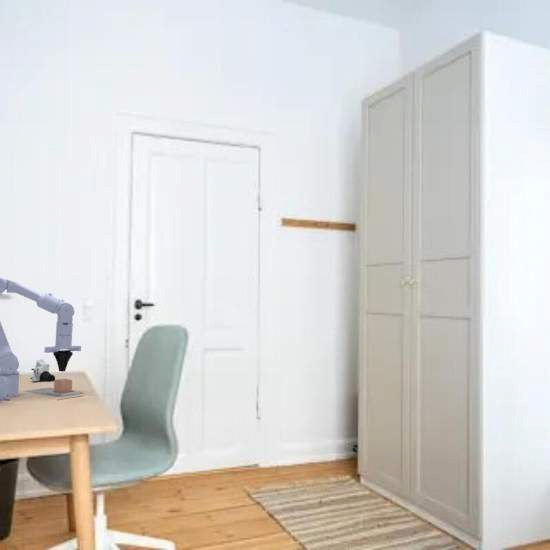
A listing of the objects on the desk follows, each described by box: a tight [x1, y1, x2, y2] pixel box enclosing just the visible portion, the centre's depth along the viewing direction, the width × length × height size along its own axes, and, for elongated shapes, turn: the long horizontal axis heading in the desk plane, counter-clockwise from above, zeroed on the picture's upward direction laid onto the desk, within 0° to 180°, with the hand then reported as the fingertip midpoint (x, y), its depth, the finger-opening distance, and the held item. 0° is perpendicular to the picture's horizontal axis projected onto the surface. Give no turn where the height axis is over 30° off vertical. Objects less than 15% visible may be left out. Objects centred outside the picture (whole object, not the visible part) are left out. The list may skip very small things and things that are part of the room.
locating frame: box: [46, 389, 81, 397], centre depth 211 cm, size 8×8×1 cm
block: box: [53, 378, 73, 393], centre depth 211 cm, size 4×4×5 cm
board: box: [24, 387, 83, 401], centre depth 214 cm, size 20×12×1 cm, turn 59°
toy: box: [30, 359, 56, 383], centre depth 246 cm, size 6×12×15 cm
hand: (62, 371), depth 212 cm, fingers closed
